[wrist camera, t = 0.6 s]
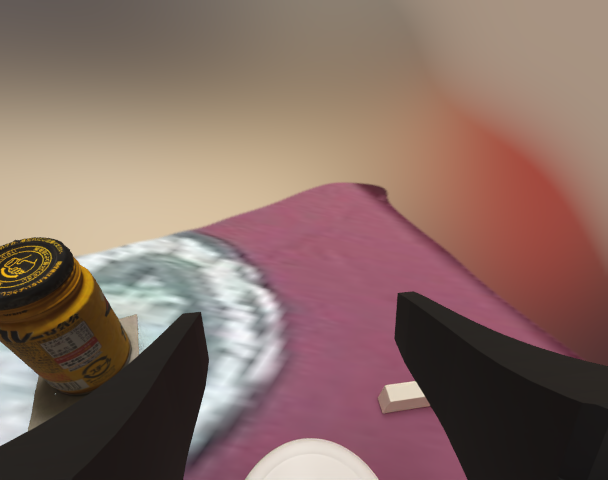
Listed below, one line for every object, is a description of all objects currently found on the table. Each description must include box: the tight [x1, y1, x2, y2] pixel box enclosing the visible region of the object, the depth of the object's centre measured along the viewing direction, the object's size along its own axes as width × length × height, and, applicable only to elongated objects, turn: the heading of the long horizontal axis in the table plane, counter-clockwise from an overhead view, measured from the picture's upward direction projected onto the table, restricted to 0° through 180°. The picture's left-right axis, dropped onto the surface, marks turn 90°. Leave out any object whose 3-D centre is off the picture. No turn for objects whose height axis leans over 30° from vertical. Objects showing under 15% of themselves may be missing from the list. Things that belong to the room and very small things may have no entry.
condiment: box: [0, 237, 139, 431], centre depth 22 cm, size 7×8×12 cm
